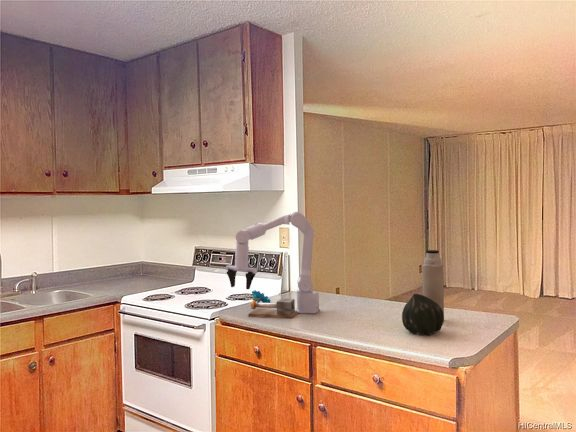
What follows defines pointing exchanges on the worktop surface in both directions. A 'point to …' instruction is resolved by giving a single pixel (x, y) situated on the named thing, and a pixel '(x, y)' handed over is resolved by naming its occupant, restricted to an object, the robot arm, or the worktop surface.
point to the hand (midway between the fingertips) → (240, 287)
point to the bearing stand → (283, 310)
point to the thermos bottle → (433, 278)
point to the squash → (422, 315)
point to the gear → (260, 297)
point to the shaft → (263, 305)
